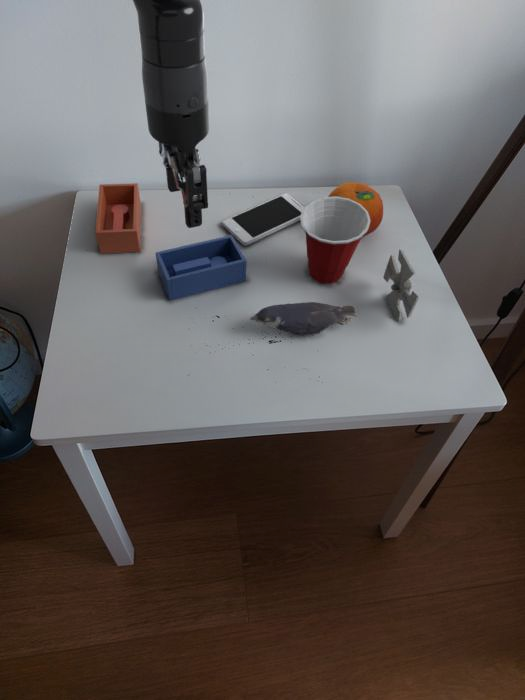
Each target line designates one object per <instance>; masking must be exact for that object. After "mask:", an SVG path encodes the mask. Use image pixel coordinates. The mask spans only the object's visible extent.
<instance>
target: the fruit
mask: <svg viewBox="0 0 525 700" xmlns="http://www.w3.org/2000/svg"><path fill="white" fill-rule="evenodd" d="M335 196H336V197H342V198H348V199H351V200H353V201H355V202H357V203H359V204H361V205H362V206H363V207H364V208H365V209H366V210H367V211H368V214H369V217H370V220H371V221H370V225H369V228H368V231H367V232H366V233H365V234H364V235H363V236H362V238H364V237H366V236H368V235H371V234H372V233H374V232H375V231H376V230H377V229H379V226H380V225H381V223H382V220H383V218H384V202H383V200H382V197H381V195H380V193H378V192H377V191H376V190H375V189H374V188H373V187H371V186H370V185H368V184H366V183H363V182H352V181H350V182H344V183H341V184H339V185H338V186H336V188H334V189H333V190H332V191H331V192H330V193H329V195H328V196H327V197H335Z"/></svg>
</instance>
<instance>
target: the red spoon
mask: <svg viewBox="0 0 525 700" xmlns="http://www.w3.org/2000/svg"><path fill="white" fill-rule="evenodd" d="M111 212H112V216H113V230H122V229H125V228H126V221H128V220H129V218H130V215H129V209H128V207H127V206H126V205H123V204H118V205H115V206H113V207H112V209H111Z"/></svg>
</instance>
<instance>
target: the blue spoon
mask: <svg viewBox="0 0 525 700" xmlns="http://www.w3.org/2000/svg"><path fill="white" fill-rule="evenodd" d="M226 263H227V261H226V259H225V258H223V257H220V256H216V257H213V258H211V259H210V261H209V258H208V257H205V258H200V259H196V260H192V261H187V262H183V263H179V264H174V265H172V266H173V275H174V276H177V275H181V274H185V273H189V272H193V271H197V270H201V269H205V268H209V267H213V266H217V265H221V264H226Z"/></svg>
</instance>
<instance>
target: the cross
mask: <svg viewBox="0 0 525 700" xmlns="http://www.w3.org/2000/svg"><path fill="white" fill-rule="evenodd" d="M397 256H398V257H397V260H398V262H399V264H400V269H399V268H398V264H397V262H396V258H395V256H394V255H393V254H390V256H389V258H388V261H387V263H386V268H385V270H384V274H383V279H384V281H386V283H389V282H390V280H391V281H392V282H393V283H392V284H391V286H390V290H391V291H390V292H389V293H388V294H387V295H386V300H387V302H388V304H389V306H390V308H391V310H392V312H393V315H394V316H395V318H396V320H397V321H398V322H401V319H402V313H403V312H402V311H401V308H400V305H401V301H402V304H403V308H404V311H405V316H406V318H407V319H408V318H410V317H411V316H412V314H413V312H414V309H415V307H416V305H417V303H418V300H419V299H420V296H419V294H418V293H416V292H415V291H414V290H412V291H411V289H412V286H413V283H412V281H411V278H412V277H413V276H414V275H415V274H416V271H415V270H414V268H413V266H412V265H411V263H410V261H409V259H408V256H407V255H406V254H405V251H404V250H402V249H401V248H400V249H398V255H397ZM410 291H411V293H410Z"/></svg>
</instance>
